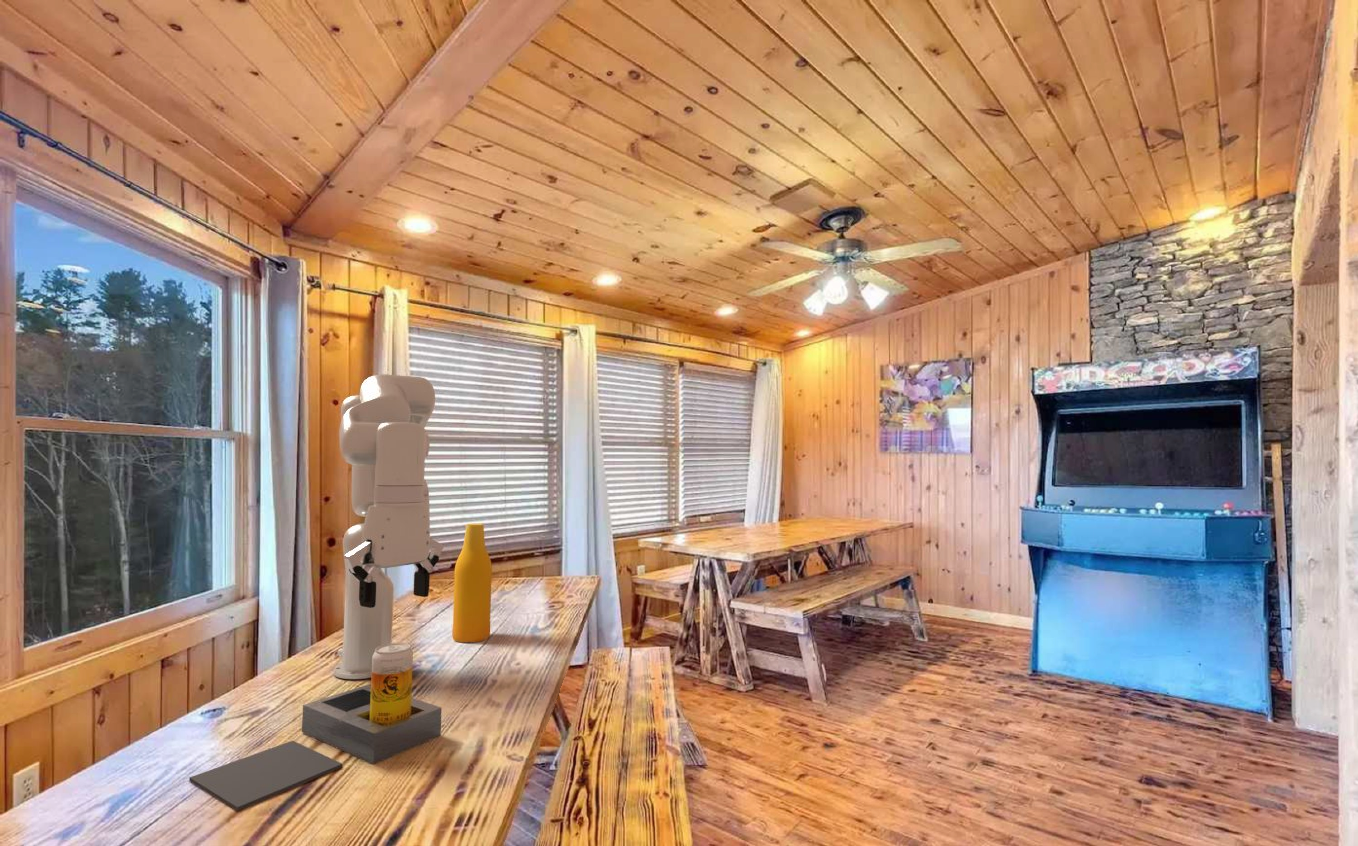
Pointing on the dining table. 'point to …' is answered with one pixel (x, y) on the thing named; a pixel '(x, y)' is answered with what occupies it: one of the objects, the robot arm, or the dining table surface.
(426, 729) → the cinder block
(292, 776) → the mat
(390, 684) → the beer can
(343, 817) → the dining table surface
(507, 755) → the dining table surface
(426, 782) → the dining table surface
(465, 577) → the beer bottle
